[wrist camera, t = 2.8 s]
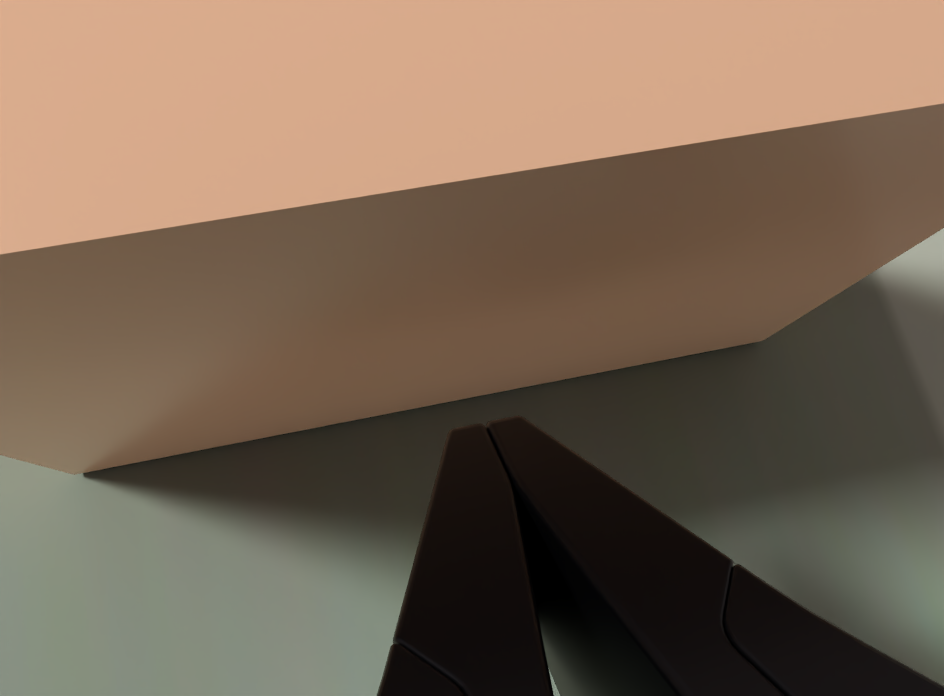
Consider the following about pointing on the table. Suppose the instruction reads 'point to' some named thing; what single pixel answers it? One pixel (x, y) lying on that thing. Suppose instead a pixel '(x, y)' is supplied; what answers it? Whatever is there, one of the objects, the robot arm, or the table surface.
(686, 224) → the terracotta tile
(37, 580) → the table surface
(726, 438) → the table surface
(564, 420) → the table surface
